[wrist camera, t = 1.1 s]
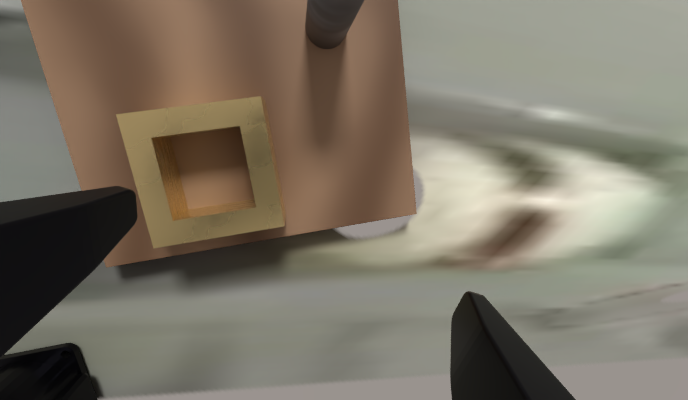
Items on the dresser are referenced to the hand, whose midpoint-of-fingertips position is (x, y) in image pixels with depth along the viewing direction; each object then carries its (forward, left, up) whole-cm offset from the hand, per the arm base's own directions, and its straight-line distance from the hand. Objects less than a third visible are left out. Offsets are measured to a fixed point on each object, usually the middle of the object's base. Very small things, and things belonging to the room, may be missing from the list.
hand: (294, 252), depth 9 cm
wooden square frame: (-4, +2, -11) cm, 11 cm away
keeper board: (-2, +4, -12) cm, 13 cm away
